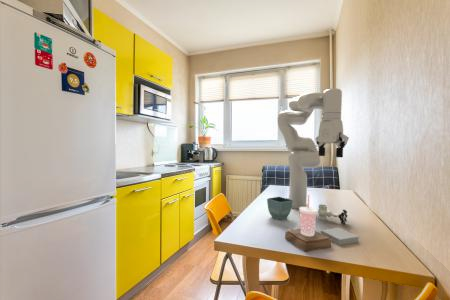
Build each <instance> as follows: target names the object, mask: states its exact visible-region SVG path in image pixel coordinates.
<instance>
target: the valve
mask: <svg viewBox="0 0 450 300" xmlns="http://www.w3.org/2000/svg"><path fill="white" fill-rule="evenodd" d="M347 213H348V211H347V210H346V209H342V212H341V213H336V212H332V210H328V205H326V204H319V205H318V209H317V214H318V216H317V217H318V219H319V220H320V219H321V221H327V217H328V218H332V217H333V218H338V219H339V220H340V224H342V225H346V223H347V222H348V220H347V218H348V216H349V215H348V214H347Z"/></svg>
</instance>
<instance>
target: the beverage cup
mask: <svg viewBox="0 0 450 300" xmlns="http://www.w3.org/2000/svg"><path fill="white" fill-rule="evenodd" d="M307 204H308V207H300V208H299V209H298V210H299V221H300V229H301V234H302V235H305V236H314V232H315V231H316V219H317V214H318V209H317V208H315V207H311V206H310V195H309V194H308V195H307Z"/></svg>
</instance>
